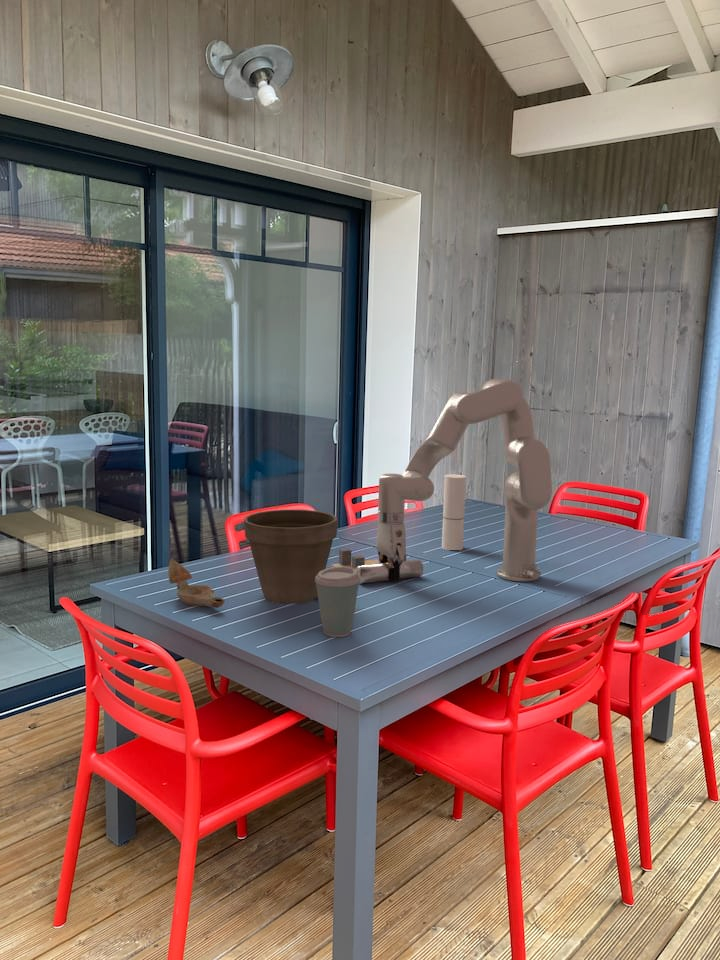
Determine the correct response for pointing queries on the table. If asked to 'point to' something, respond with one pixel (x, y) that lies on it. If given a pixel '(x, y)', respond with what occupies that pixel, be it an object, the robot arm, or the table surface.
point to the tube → (382, 571)
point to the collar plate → (355, 560)
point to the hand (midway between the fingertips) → (389, 577)
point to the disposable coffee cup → (337, 599)
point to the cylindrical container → (453, 512)
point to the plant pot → (290, 551)
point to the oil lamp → (191, 588)
